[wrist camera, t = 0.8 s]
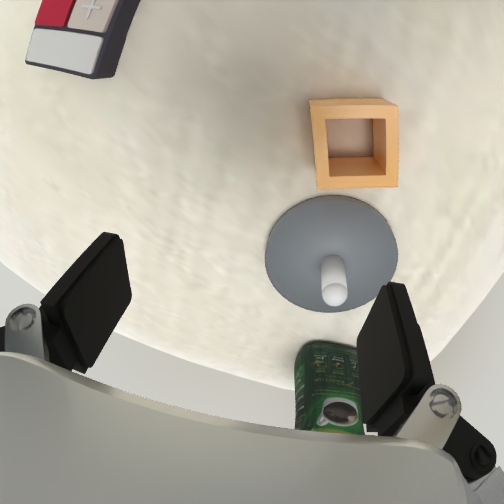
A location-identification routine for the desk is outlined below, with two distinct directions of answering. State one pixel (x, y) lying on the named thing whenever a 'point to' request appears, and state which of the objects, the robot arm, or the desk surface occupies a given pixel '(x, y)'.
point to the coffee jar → (328, 390)
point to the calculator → (81, 36)
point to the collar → (357, 168)
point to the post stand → (331, 254)
